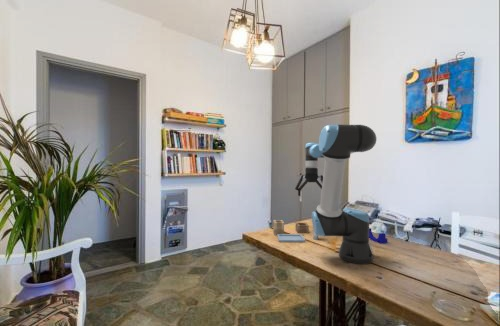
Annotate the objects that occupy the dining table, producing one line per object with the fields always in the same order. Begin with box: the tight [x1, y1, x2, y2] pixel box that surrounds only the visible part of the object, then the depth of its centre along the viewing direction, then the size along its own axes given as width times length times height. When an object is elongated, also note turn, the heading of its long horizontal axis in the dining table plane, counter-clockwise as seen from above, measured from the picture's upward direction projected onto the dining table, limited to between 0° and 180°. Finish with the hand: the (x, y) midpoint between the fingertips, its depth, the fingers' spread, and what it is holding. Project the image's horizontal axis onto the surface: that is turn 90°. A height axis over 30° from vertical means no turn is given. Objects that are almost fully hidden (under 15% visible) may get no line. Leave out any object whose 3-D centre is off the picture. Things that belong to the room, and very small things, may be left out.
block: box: [272, 219, 285, 236], centre depth 152 cm, size 6×6×8 cm
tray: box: [276, 233, 307, 243], centre depth 142 cm, size 11×15×1 cm
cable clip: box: [369, 227, 389, 245], centre depth 140 cm, size 12×4×6 cm, turn 17°
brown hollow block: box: [295, 222, 310, 234], centre depth 157 cm, size 7×7×5 cm
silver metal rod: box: [312, 229, 320, 241], centre depth 142 cm, size 3×3×14 cm
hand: (311, 201), depth 151 cm, fingers open, 13 cm apart
